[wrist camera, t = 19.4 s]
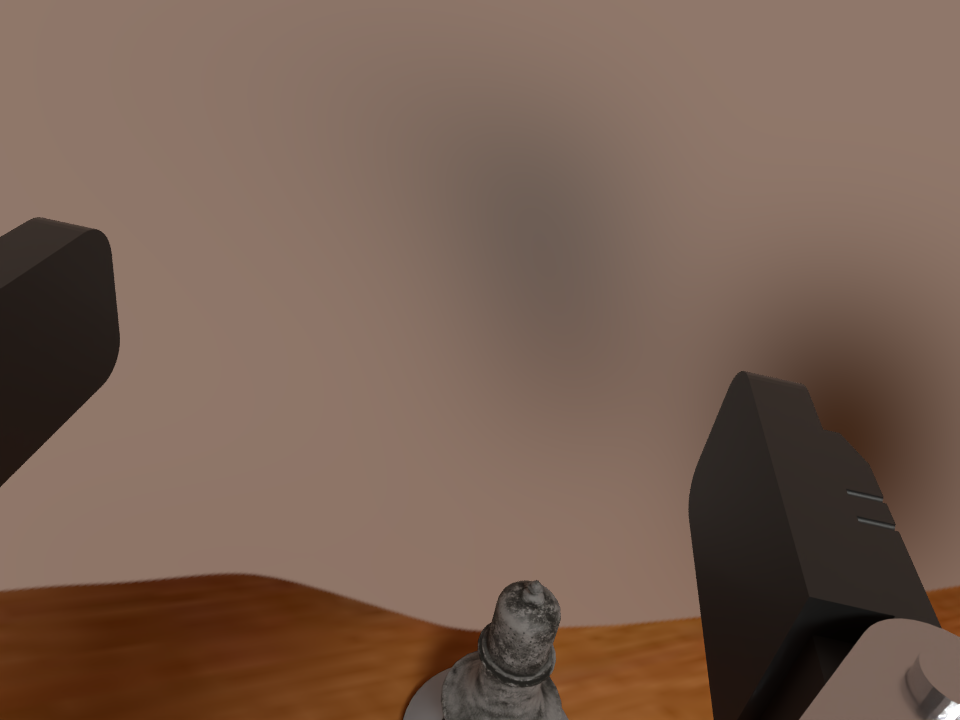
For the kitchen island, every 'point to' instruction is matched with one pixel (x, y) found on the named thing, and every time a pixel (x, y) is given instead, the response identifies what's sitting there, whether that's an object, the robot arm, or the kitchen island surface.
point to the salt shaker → (509, 662)
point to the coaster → (431, 701)
